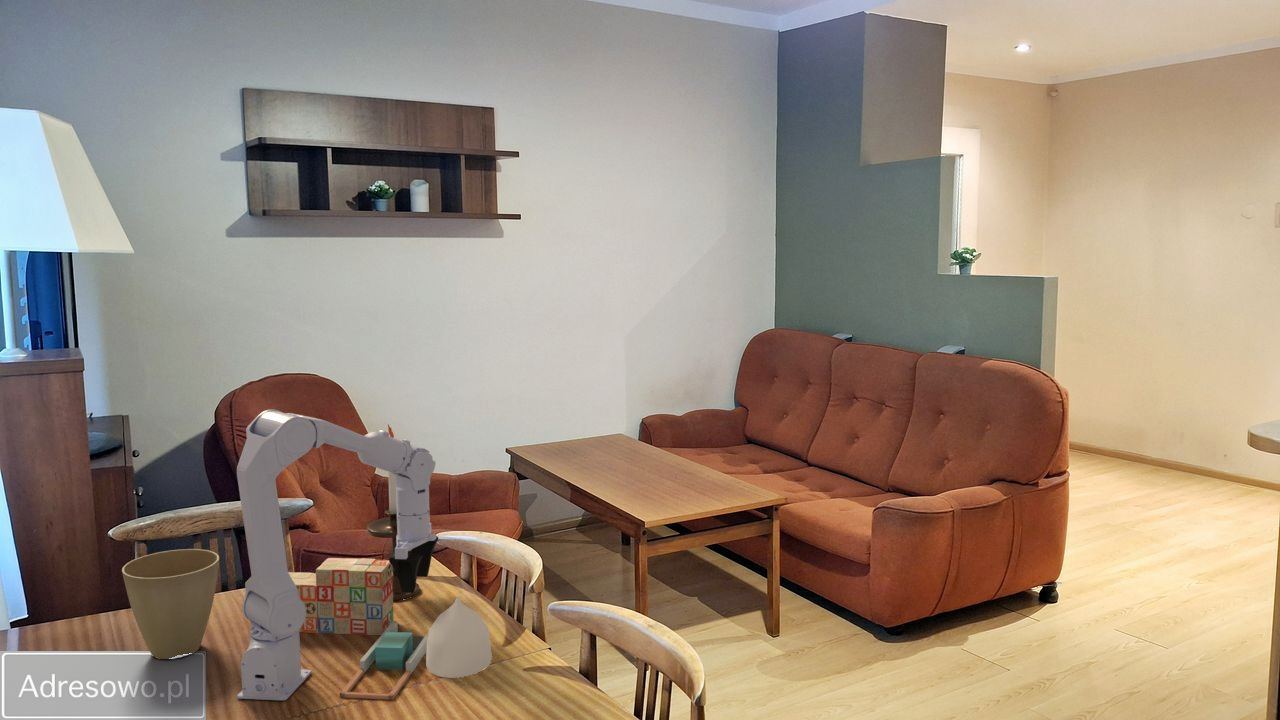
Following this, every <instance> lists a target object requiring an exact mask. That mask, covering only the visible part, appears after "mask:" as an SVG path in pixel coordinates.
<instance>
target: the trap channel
mask: <svg viewBox="0 0 1280 720" xmlns="http://www.w3.org/2000/svg"><path fill="white" fill-rule="evenodd" d="M398 626H399V625H398V621H397V620H393V622H392V623H391V624H390V625H389V627H388V628H387V629H386V630H385V631H384V632H383V634H382V635H379V637H378V638H377V639H376V640H375V642H374V643H373V645H371V647H370V648H369V649H368V651H366V653H365V654H364V655H363V656H362V658H360V659H359V669H358V671H356V673H355V674H354V675H353V677H352V678H351V679H350V680H349V682H348V683H347V684H346V685H345V686H344V687H343V689H342V690H341V692H340V693H339V698H346V699H347V698H349V699H350V698H351V699H367V700H368V699H372V700H388V701H389V700H390V701H392V700H393V701H394V699H395V698H396V696H397V695H398V694H399V693H400V690H401V689H402V688H403V686H404V685H405V684H406V682H407V681H408V679H409V678H410V676H411V675H412V673H413V672H414V671H415V669H416V668H417V666H418V665H419V663H420V662H421V660H422V659H423V658H424V657H425V655H426V652H427V637H428V634H429V631H430V629H429V630H428V632H427V633H426V634H425V636H422V635H420V636H419V635H412V643H413V653H412V655H411V656H410V658H409V659H408V660H407V662H406V665H405V671H404V673H403V674H402V676H401V677H400V679H399V680H398V681H397V683H396V684H395V685H394V687H393V688H392V690H391V691H390V693H375V692H353V691H352V690H353V688H354V687H355V685H356V684H357V683H358V682H359V680H360V679H361V678H362V677H363V675H364V674H365V673H366V672H367V671H368V669H369V668H370V667H371V665H372V664H373V663H374V662H375V661H376V654H375V647H376V646H377V644H378V643H379V642H380V640H381V639H382V638H383V636H384V635H385V633H386V632H399V631H398V630H399V629H398Z"/></svg>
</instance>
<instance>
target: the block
mask: <svg viewBox="0 0 1280 720" xmlns="http://www.w3.org/2000/svg"><path fill="white" fill-rule="evenodd" d="M412 636H413V632H406V631H405V632H401V631H398V632H386V633H385V635H384V636H383V638H382V639H381V640H380V642H379V643H378V644H377V646H376V647H375V654H376V659H375V670H386V671H387V670H388V671H389V670H393V671H403V670H404V668H406V662H407V660H408V659H409V658H410V656H411V655H412V653H413V652H414V650H413V643H412Z"/></svg>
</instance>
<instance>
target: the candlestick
mask: <svg viewBox="0 0 1280 720" xmlns="http://www.w3.org/2000/svg"><path fill="white" fill-rule="evenodd" d="M387 427H388V428H387V429H388V433H390V434H389V437H392V438H394V439H395V434H394V432H393V431H392V427H390V424H387ZM387 472H388V471H387ZM396 475H398V474H393V473H391V472H388V476H387V477H388V503H389V504H388V505H389V509H387V510H385V511H384V512H383V513H384V514H385V515H388V516H386V517H380V518H377V519H374V520H372V521H369V523H367V524H366V533H367V535H369V536H372V537H375V538H382V539H383V538H384V539H391V553H395V548H396V546H397V541H396V536H397V501H396ZM392 574H393V601H394V602H400V601H399V600H403V599H407V598H410V597H413V596H415V595H416V594H417V593H418V592H419V593H420V591H419V589H420V584H419V583H417V582H416V587H415V591H414V593H403V592H402V590H401V587H400V584H399V580H398V577H397V574H396V572H395V570H394V568H393V566H392ZM416 596H417V595H416ZM416 596H415V597H416ZM413 598H414V597H413ZM410 599H411V598H410ZM407 600H408V599H407ZM403 601H404V600H403Z"/></svg>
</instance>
